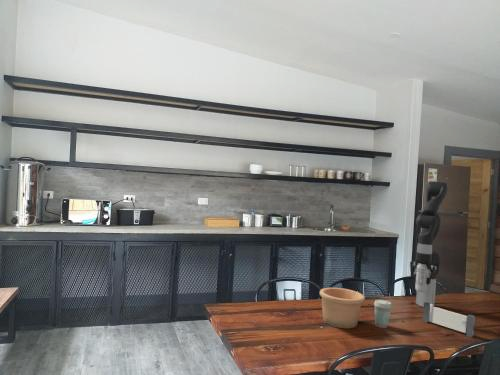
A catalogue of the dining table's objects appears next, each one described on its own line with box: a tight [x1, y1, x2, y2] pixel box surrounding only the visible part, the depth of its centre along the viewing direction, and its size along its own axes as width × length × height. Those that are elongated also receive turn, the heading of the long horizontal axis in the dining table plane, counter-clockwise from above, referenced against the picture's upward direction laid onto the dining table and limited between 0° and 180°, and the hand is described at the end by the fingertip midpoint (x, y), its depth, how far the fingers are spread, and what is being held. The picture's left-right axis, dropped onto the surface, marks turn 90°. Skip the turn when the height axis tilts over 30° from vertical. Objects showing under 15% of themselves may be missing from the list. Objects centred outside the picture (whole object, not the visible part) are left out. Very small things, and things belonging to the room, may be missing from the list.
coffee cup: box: [373, 299, 393, 329], centre depth 189 cm, size 8×8×12 cm
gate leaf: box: [428, 303, 468, 334], centre depth 192 cm, size 18×2×9 cm, turn 41°
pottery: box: [319, 287, 366, 329], centre depth 189 cm, size 22×22×14 cm
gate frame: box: [422, 302, 476, 338], centre depth 192 cm, size 24×2×10 cm, turn 41°
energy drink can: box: [414, 263, 429, 292], centre depth 207 cm, size 6×6×15 cm
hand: (421, 282), depth 207 cm, fingers closed on energy drink can, 6 cm apart
